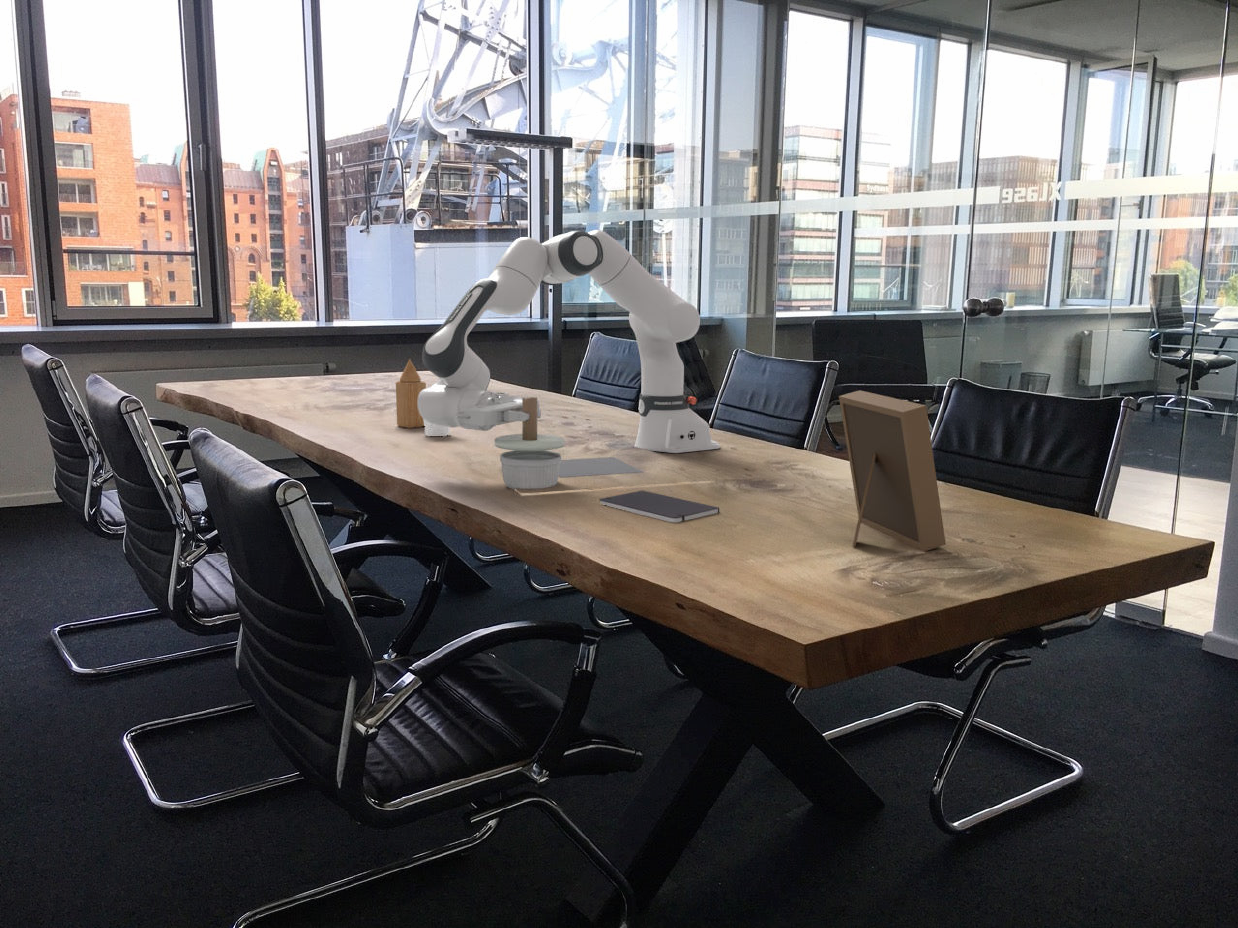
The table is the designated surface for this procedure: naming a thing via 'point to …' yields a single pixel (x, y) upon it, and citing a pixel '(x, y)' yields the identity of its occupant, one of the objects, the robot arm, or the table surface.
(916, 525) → the photo frame
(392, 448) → the table surface
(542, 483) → the ramekin
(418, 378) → the decorative item
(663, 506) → the notebook
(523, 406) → the lid
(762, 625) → the table surface
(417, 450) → the table surface
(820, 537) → the table surface
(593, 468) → the mat
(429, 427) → the white cup
